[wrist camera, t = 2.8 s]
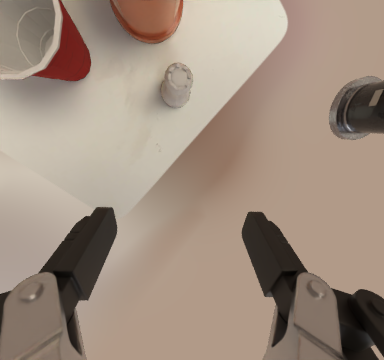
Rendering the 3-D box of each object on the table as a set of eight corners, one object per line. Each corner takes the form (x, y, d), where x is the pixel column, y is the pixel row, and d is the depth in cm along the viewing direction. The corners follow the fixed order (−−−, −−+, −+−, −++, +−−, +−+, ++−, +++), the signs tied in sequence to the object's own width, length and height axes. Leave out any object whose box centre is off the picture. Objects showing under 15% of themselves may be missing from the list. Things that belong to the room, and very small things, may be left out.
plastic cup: (25, 93, 22) (-119, 55, 11) (16, -5, 19) (-192, -192, 8) (109, 109, 24) (60, 92, 13) (112, 24, 22) (53, -94, 10)
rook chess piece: (188, 109, 26) (198, 101, 19) (160, 107, 25) (158, 97, 18) (190, 78, 25) (201, 55, 17) (161, 74, 24) (158, 49, 17)
